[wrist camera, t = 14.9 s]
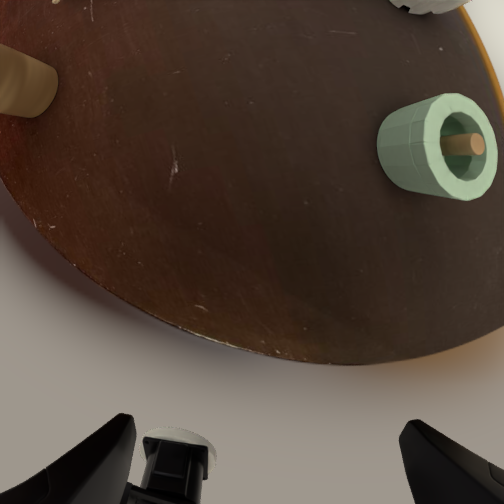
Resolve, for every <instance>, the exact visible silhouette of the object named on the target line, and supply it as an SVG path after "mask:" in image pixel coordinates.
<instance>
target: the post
mask: <svg viewBox="0 0 504 504" xmlns="http://www.w3.org/2000/svg"><path fill="white" fill-rule="evenodd" d="M57 87H58V75H57V72H56V70H55V69H54V68H53V67H51V66H49V65H47V64H45V63H43V62H41V61H38V60H36V59H34V58H32V57H30V56H28V55H25V54H23V53H21V52H19V51H16V50H14V49H12V48H9V47H7V46H5V45H2V44H0V113H3V114H9V115H15V116H21V117H27V118H33V117H36V116H38V115H40V114H41V113H43V112H44V111H45V110H46V109H47V108H48V107H49V105H50V104H51V102H52V101H53V99H54V97H55V94H56V91H57Z"/></svg>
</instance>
